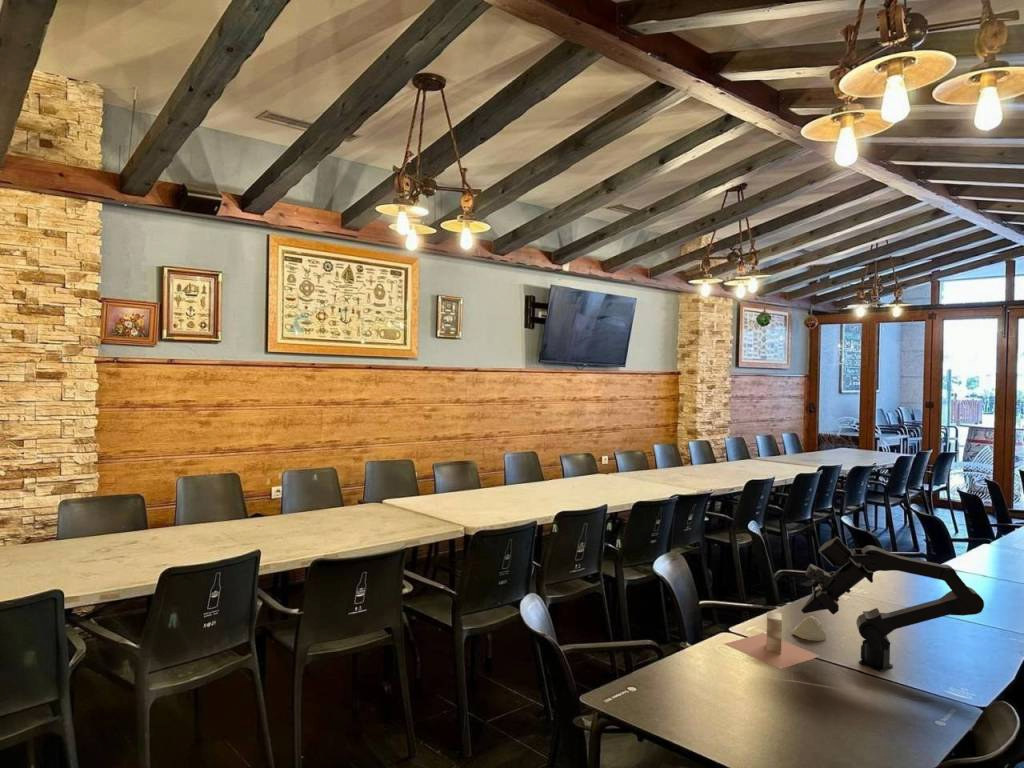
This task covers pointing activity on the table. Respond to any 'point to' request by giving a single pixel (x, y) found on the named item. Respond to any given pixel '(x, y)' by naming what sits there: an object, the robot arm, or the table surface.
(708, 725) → the table surface
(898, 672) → the table surface
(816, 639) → the seashell
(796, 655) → the rubber mat
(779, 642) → the birch block
